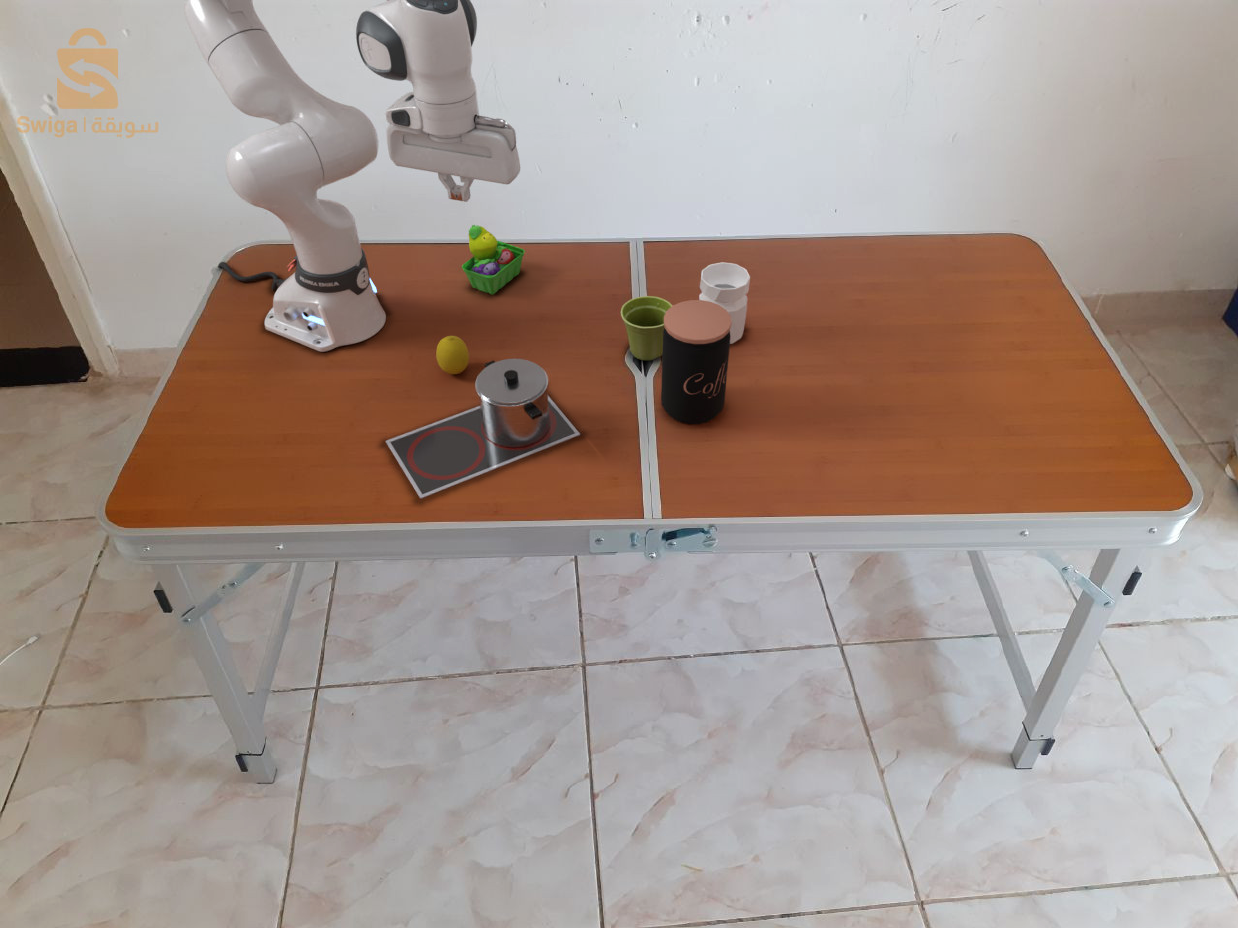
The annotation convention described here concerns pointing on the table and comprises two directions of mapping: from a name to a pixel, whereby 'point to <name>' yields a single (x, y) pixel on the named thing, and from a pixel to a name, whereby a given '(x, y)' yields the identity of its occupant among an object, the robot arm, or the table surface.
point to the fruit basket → (491, 261)
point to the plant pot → (645, 325)
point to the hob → (464, 449)
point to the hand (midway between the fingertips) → (459, 199)
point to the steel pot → (513, 402)
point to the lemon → (452, 355)
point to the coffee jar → (695, 361)
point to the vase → (727, 292)
